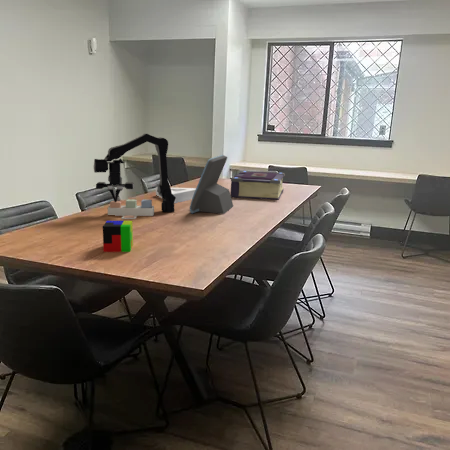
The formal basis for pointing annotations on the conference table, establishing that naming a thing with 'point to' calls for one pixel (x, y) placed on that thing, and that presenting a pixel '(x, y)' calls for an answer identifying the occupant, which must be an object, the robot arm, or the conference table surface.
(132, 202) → the sage green key
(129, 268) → the conference table surface
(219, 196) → the touchscreen device
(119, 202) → the terracotta key
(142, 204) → the slate blue key
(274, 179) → the book
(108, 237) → the puzzle toy
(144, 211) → the key console
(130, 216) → the card
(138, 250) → the conference table surface
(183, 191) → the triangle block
